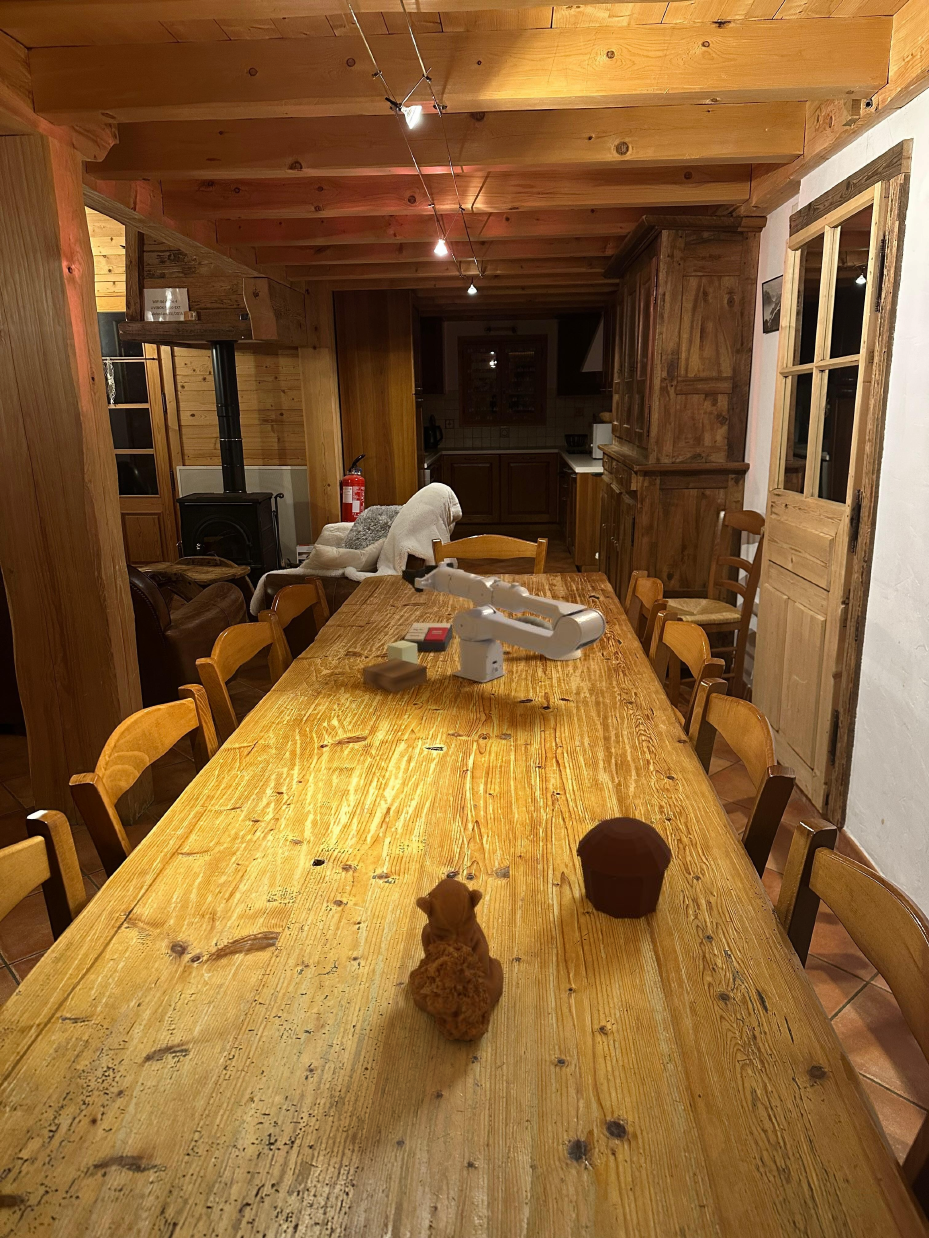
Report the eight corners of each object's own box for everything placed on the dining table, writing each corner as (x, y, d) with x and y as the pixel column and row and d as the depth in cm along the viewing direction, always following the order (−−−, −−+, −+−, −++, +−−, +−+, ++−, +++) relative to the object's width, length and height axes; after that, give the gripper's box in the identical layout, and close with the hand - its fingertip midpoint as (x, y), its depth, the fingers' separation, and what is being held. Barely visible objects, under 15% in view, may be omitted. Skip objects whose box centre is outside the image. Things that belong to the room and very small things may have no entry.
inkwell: (584, 660, 201) (584, 620, 198) (509, 661, 201) (509, 621, 198) (578, 649, 210) (579, 611, 207) (506, 651, 210) (506, 612, 207)
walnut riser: (427, 683, 187) (426, 666, 186) (394, 695, 179) (394, 677, 179) (396, 674, 193) (395, 658, 192) (363, 685, 186) (362, 668, 185)
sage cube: (417, 664, 200) (417, 643, 199) (402, 668, 197) (401, 648, 195) (403, 660, 203) (402, 640, 202) (388, 664, 200) (387, 644, 199)
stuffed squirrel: (501, 964, 92) (501, 856, 88) (512, 1062, 78) (512, 938, 75) (410, 967, 91) (406, 859, 88) (405, 1065, 78) (401, 942, 74)
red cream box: (401, 638, 210) (412, 620, 224) (402, 654, 211) (412, 635, 225) (445, 639, 209) (452, 621, 223) (445, 655, 210) (453, 636, 224)
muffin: (607, 864, 111) (609, 795, 109) (685, 893, 104) (689, 820, 102) (558, 904, 102) (559, 830, 100) (639, 939, 96) (642, 860, 93)
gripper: (478, 561, 194) (436, 551, 202) (435, 570, 183) (392, 559, 192) (477, 590, 196) (435, 579, 204) (434, 601, 185) (392, 589, 194)
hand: (414, 571), depth 198 cm, fingers open, 7 cm apart
